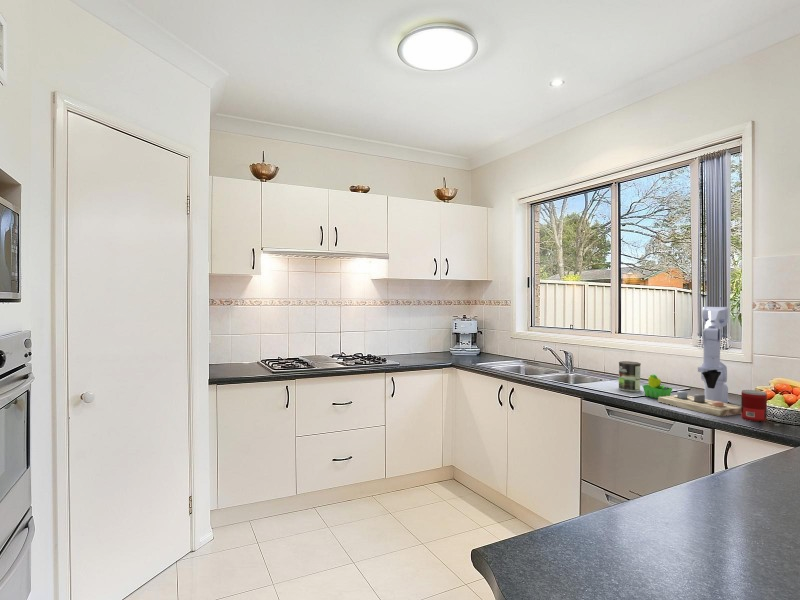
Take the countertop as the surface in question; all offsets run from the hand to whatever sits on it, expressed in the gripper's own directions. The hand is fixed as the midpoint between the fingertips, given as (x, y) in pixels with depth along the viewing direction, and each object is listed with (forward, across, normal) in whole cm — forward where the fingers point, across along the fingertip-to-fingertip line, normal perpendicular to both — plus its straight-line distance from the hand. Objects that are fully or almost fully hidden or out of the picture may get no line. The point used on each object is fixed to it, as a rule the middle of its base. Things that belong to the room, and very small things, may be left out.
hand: (711, 388), depth 202 cm
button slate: (+8, 0, +13) cm, 15 cm away
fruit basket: (+10, +1, +27) cm, 29 cm away
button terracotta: (+9, 0, -3) cm, 9 cm away
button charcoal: (+8, 0, +5) cm, 9 cm away
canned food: (+10, 0, -17) cm, 20 cm away
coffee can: (+10, +5, +46) cm, 47 cm away
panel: (+9, 0, +5) cm, 11 cm away
